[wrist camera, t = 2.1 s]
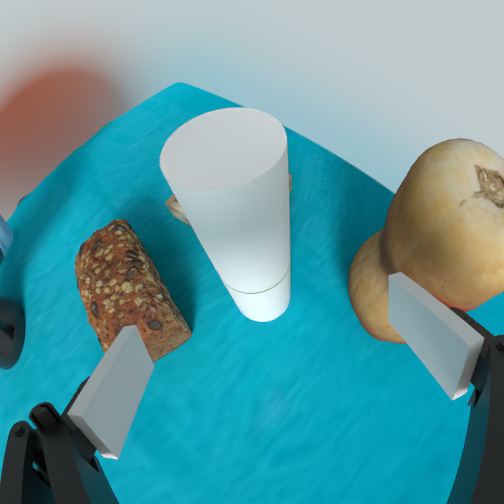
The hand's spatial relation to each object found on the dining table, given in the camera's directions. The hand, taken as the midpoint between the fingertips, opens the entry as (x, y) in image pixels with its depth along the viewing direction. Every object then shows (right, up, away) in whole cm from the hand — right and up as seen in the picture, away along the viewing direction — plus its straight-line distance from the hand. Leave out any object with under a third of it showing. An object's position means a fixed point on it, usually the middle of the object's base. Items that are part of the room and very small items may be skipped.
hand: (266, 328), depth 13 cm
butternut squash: (+17, -3, +20) cm, 27 cm away
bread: (-17, -4, +25) cm, 31 cm away
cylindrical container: (+1, -2, +23) cm, 23 cm away
